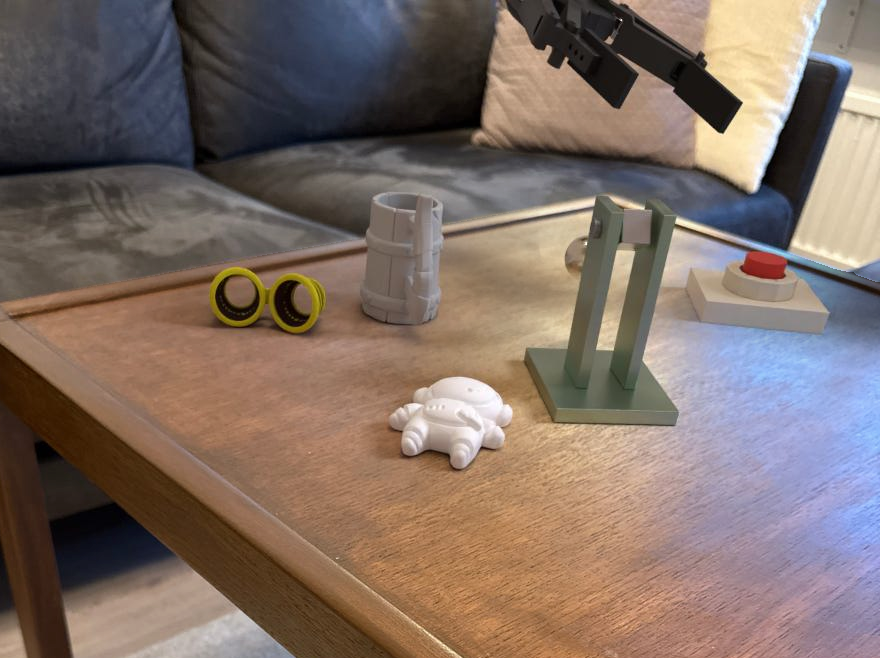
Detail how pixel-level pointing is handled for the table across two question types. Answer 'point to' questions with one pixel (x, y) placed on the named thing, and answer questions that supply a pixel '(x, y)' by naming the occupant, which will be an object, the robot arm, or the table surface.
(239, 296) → the table surface
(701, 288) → the box
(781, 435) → the table surface
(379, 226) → the mug
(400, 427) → the astronaut figurine
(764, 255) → the button
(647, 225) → the lever
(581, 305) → the bracket
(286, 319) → the opera glasses
